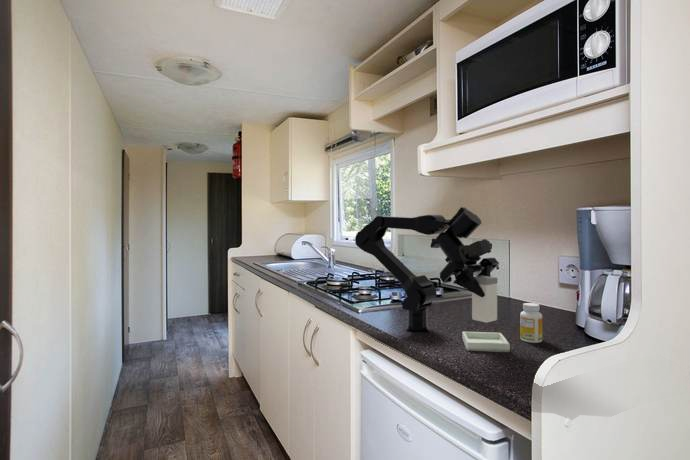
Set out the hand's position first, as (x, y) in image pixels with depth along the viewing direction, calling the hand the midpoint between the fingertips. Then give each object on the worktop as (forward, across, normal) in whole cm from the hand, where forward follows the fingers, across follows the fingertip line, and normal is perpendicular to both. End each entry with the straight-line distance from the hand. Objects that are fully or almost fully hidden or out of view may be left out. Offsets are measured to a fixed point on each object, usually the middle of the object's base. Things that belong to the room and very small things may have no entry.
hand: (489, 295), depth 103 cm
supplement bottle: (+12, +13, +7) cm, 19 cm away
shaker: (+4, 0, +6) cm, 7 cm away
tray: (+8, 0, +10) cm, 13 cm away
